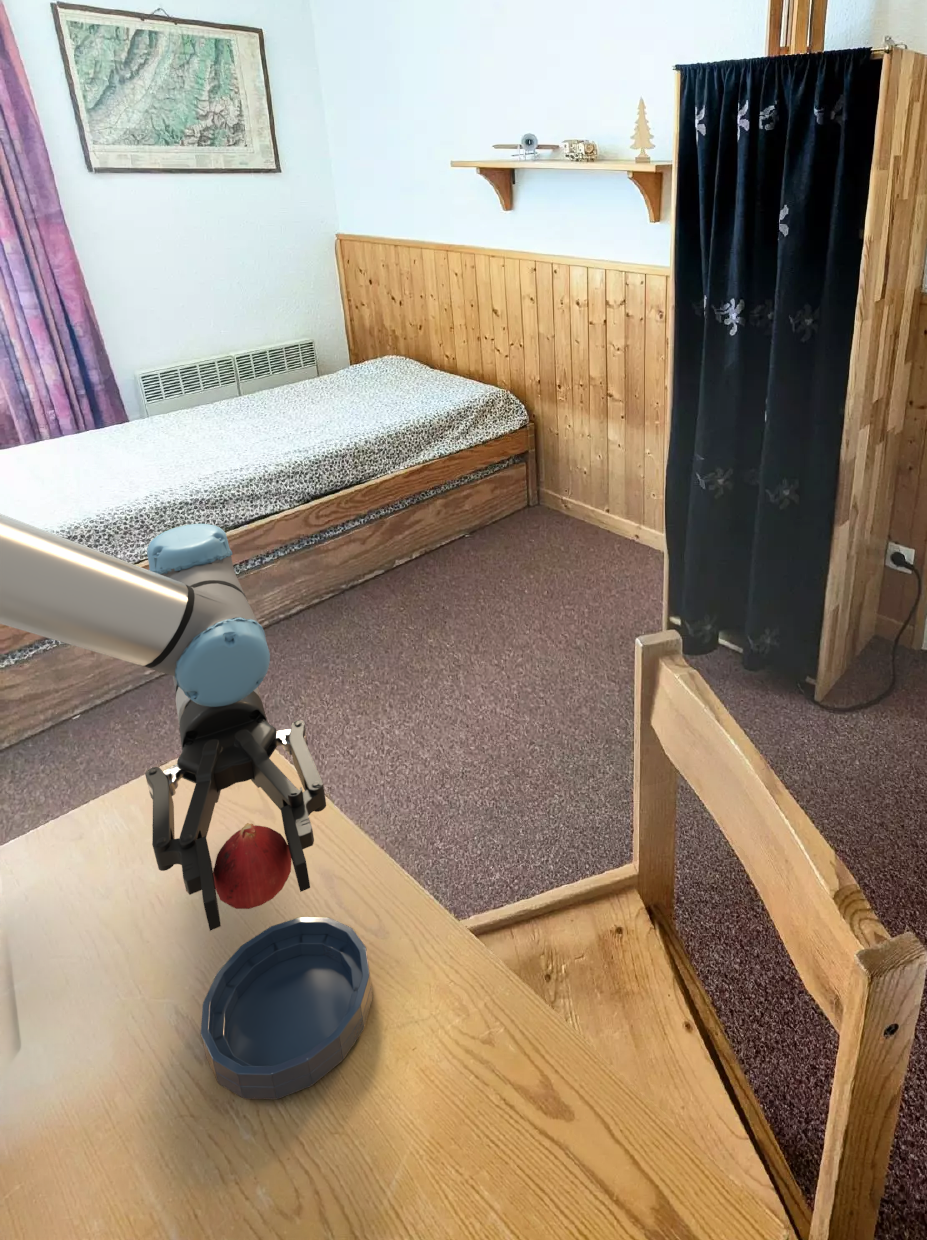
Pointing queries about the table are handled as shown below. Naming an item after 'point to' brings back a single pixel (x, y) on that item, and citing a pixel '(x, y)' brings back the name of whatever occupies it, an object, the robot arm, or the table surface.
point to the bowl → (286, 1007)
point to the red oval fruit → (251, 867)
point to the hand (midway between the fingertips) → (258, 895)
